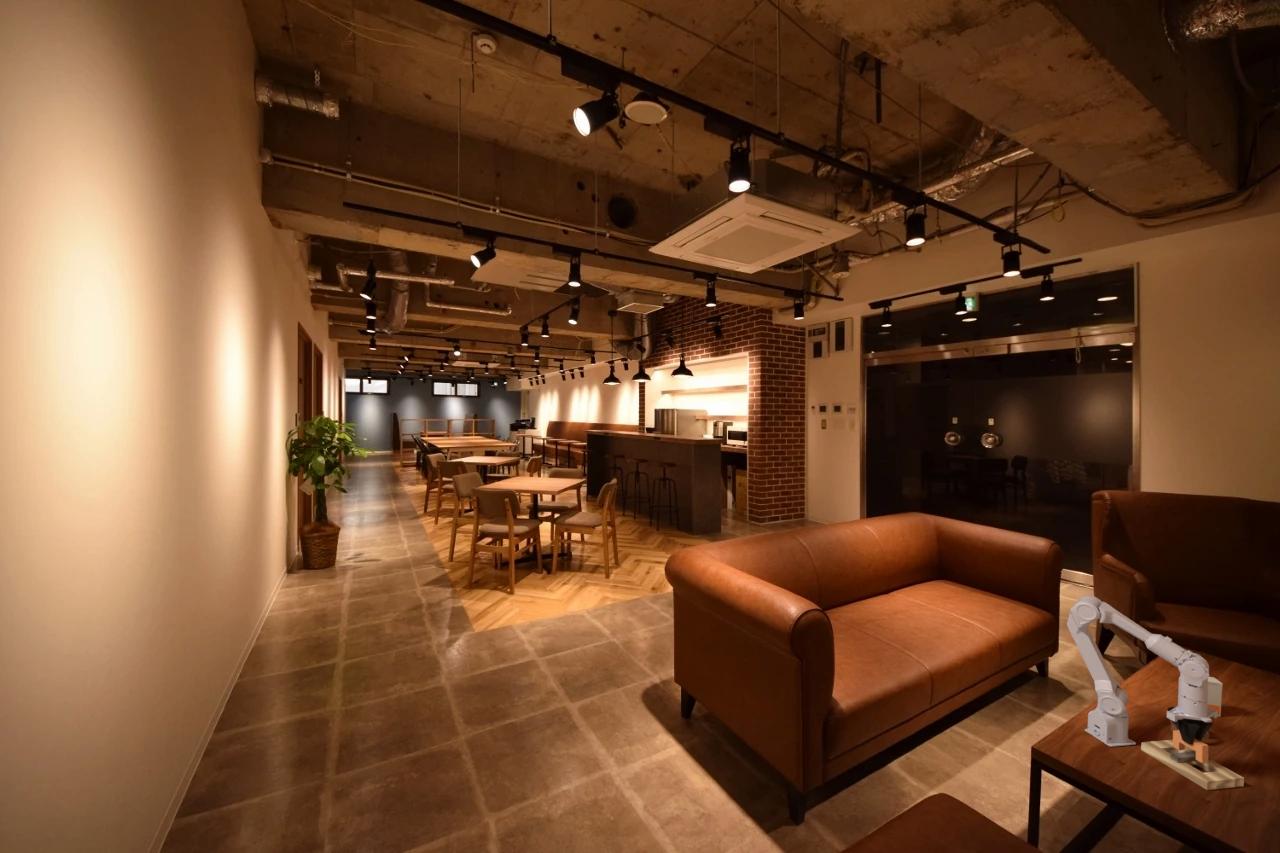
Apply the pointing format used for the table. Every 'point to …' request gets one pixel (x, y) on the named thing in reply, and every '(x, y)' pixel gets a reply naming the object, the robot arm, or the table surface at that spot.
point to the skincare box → (1214, 695)
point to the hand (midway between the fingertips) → (1191, 742)
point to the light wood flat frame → (1177, 758)
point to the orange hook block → (1191, 746)
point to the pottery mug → (1175, 727)
